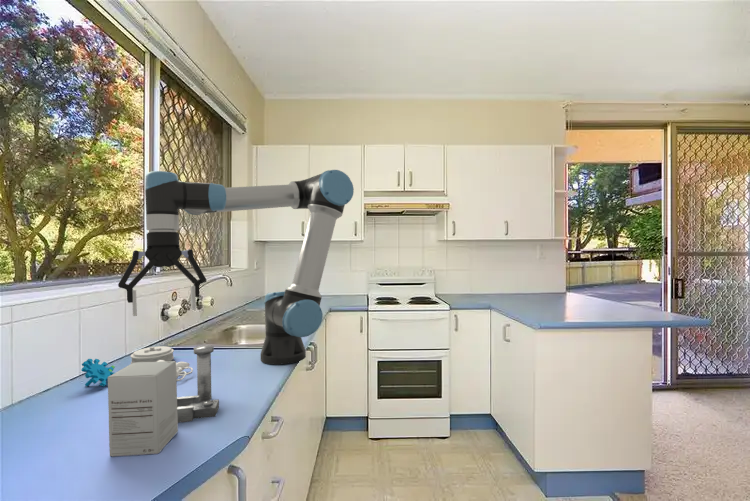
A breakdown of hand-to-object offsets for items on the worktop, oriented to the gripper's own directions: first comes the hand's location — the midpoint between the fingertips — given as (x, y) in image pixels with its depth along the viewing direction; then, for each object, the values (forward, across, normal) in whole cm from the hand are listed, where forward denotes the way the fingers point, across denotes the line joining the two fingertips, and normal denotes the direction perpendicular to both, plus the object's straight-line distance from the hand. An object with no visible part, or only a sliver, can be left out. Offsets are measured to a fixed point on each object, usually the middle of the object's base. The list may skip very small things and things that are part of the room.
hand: (165, 312), depth 102 cm
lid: (+22, +1, -35) cm, 41 cm away
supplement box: (+22, +7, +27) cm, 36 cm away
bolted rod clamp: (+22, 0, +17) cm, 27 cm away
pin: (+22, -7, +10) cm, 25 cm away
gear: (+22, +15, -19) cm, 32 cm away
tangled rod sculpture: (+22, 0, -12) cm, 25 cm away
